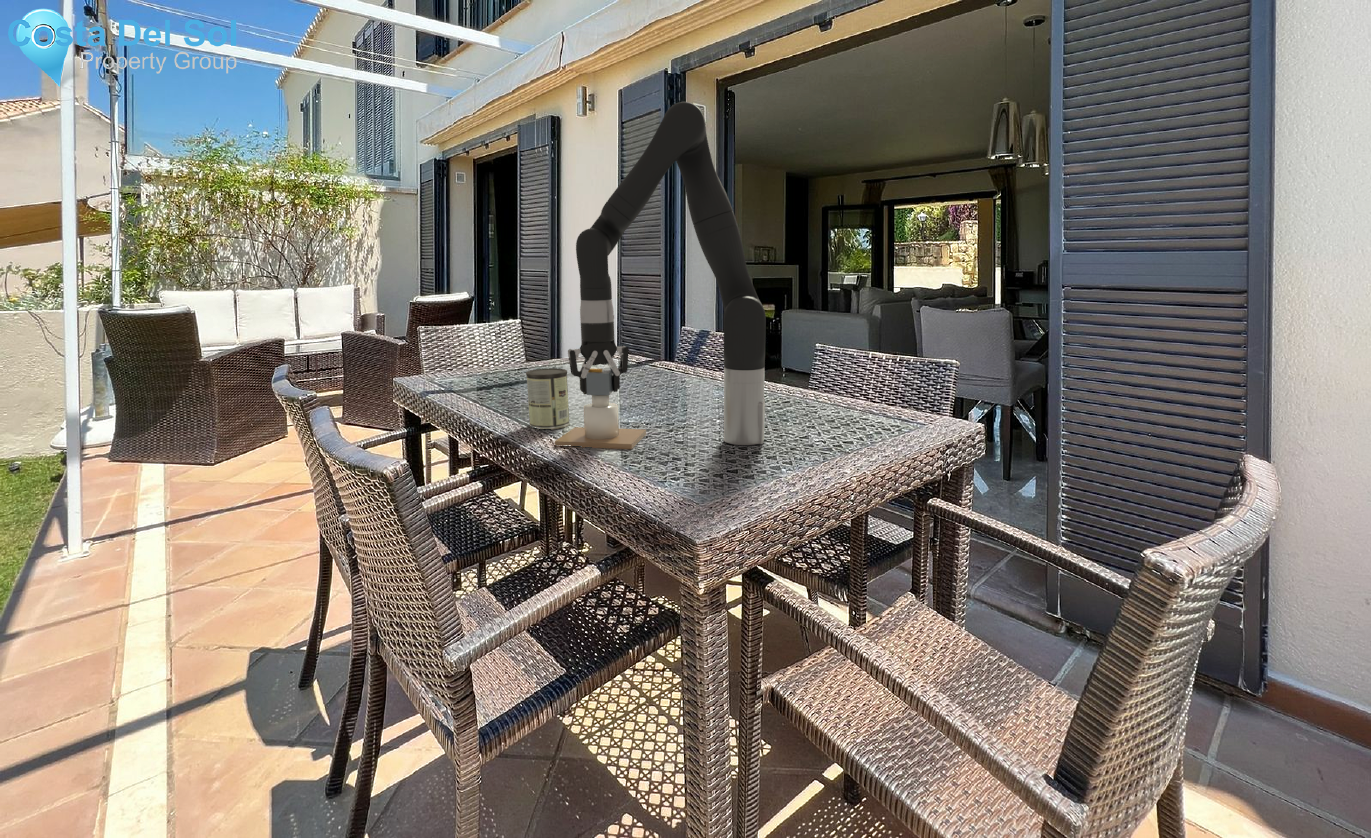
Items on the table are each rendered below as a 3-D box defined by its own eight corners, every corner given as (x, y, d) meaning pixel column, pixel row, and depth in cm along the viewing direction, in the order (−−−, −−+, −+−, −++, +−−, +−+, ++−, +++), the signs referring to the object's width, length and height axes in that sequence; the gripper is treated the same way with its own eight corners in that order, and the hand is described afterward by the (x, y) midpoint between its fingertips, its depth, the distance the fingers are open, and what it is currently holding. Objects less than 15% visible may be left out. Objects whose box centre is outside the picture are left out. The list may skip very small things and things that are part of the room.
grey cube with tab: (613, 390, 166) (612, 367, 165) (609, 395, 161) (608, 370, 160) (591, 390, 167) (590, 367, 166) (586, 395, 162) (585, 370, 160)
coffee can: (536, 420, 188) (533, 368, 185) (574, 421, 187) (571, 368, 184) (523, 429, 178) (520, 374, 175) (563, 430, 177) (561, 374, 174)
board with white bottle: (646, 434, 172) (645, 389, 169) (631, 449, 158) (630, 401, 156) (575, 431, 175) (573, 388, 172) (555, 446, 161) (552, 399, 159)
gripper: (623, 317, 166) (625, 387, 170) (562, 320, 161) (566, 392, 165) (632, 320, 159) (634, 393, 163) (568, 322, 154) (572, 398, 158)
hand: (600, 392), depth 164 cm, fingers closed on grey cube with tab, 6 cm apart
